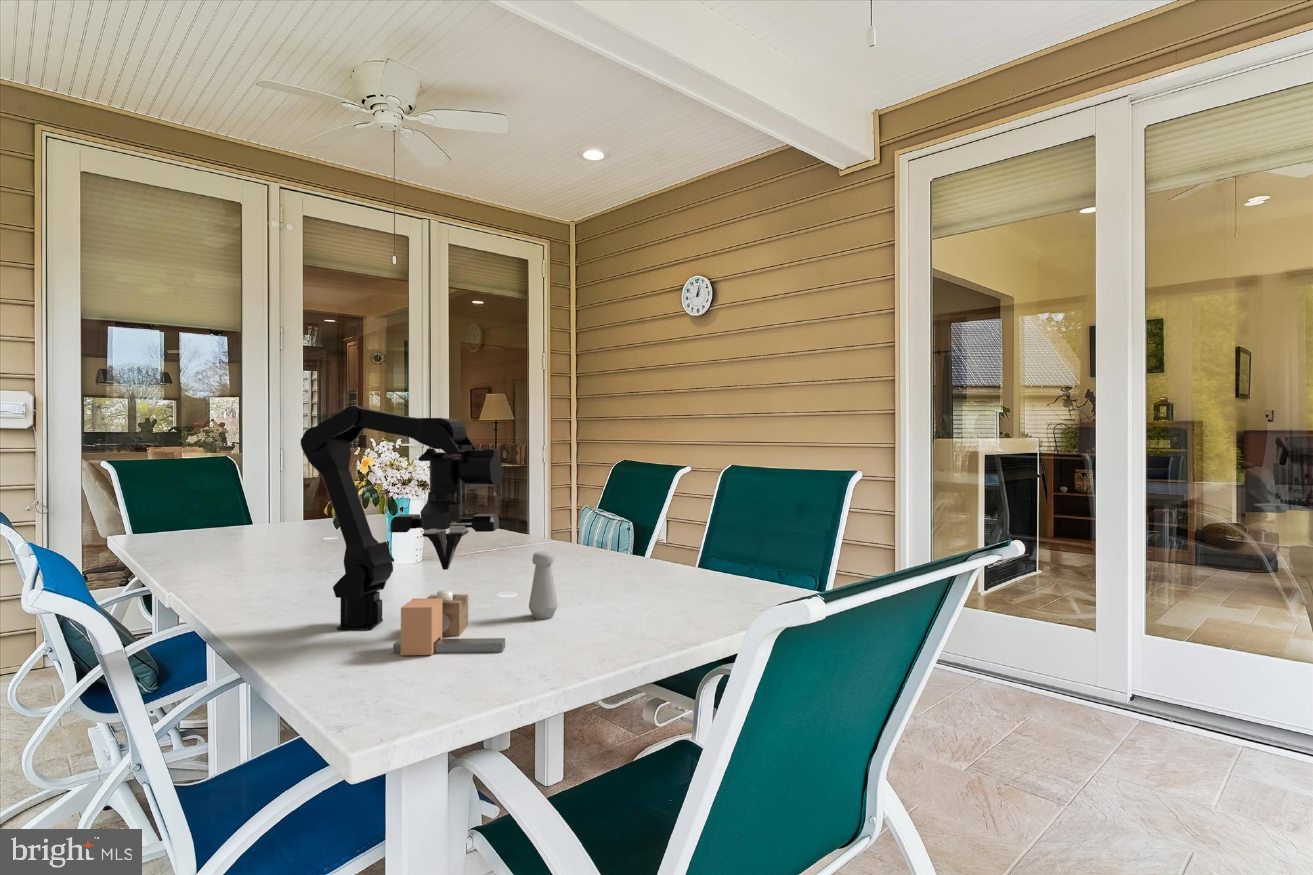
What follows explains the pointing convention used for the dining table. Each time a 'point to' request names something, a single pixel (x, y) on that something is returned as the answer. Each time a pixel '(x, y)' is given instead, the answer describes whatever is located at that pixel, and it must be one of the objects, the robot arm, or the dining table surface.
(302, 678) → the dining table surface
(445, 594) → the plunger
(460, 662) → the dining table surface
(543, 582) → the salt shaker
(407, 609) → the block
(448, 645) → the rail
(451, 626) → the cabinet
